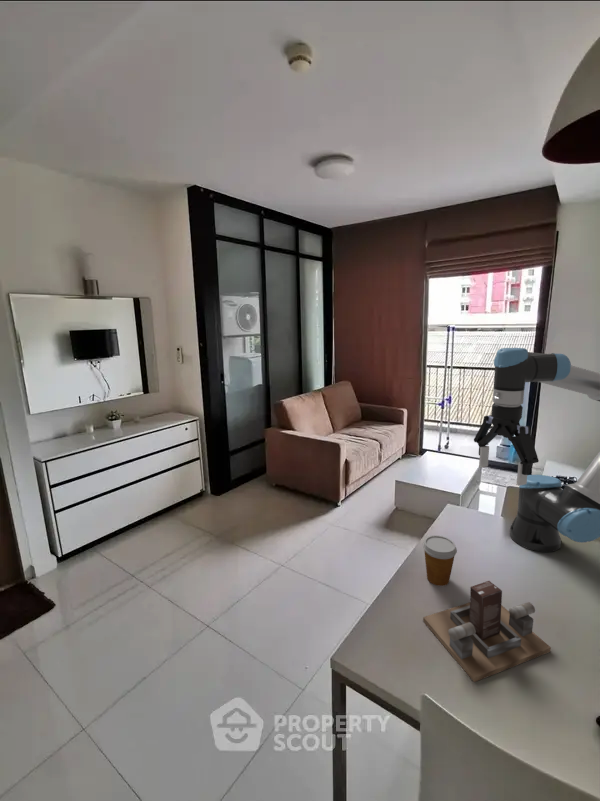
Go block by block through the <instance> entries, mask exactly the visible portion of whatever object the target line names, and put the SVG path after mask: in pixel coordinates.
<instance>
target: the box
mask: <svg viewBox="0 0 600 801" xmlns="http://www.w3.org/2000/svg"><path fill="white" fill-rule="evenodd" d="M469 588H470V592H469V593H470V594H469V597H470V598H469V602H470V618H469V622H471V623H472V624H473V625H474V627H475V630H476V633H475V634H476V635H477V636H478V637H479V638H480V639H481V640H484V639H486V638H489V637H491V636H494V635H497V634H499V633H500V621H501V605H502V603H503V602H502V601H503V600H502V599H503V590H502V589H501V588H499V587H498V586H497V585H496V584H494V583H493V582H492V581H490V580H487V581H484V582H481V583H478V584H476V585H472V586H470V587H469Z"/></svg>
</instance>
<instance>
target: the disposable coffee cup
mask: <svg viewBox="0 0 600 801" xmlns="http://www.w3.org/2000/svg"><path fill="white" fill-rule="evenodd" d="M422 548H423V552H424V560H425V568H426V571H425V572H426V579H427V580H428V582H429V583H430V584H432V585H434V586H437V587H438V586H439V587H445V586H447V585H449V583H450V578H451V576H452V575H451V574H452V570H453V564H454V561H455V560H454V559H455V556H456V554H457V553H458V552H457V551H458V549H457V547H456V544H455V542H454V541H453V540H452V539H451V538H448V537H446V536H443V535H430V536H427V537H425V539H424V540H423V543H422Z"/></svg>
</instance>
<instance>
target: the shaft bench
mask: <svg viewBox="0 0 600 801" xmlns="http://www.w3.org/2000/svg"><path fill="white" fill-rule="evenodd" d="M535 612H536V608H535V606H534V604H533V603H531V602H529V601H528V602H525V603H522V604H519V605H516V606H513V607H510V608H509V609H507V608H506V607H505V606H503V605H502V604H501V621H500V633H499V634H497V635H494V636H491V637H489V638H486V639H484V640H481V639H480V638H479V637H478V636H477V635H476V634H475V633H476V630H475V627H474V625H473V624H472V623H471V622H469V618H470V601H469V602H466V603H464V604H463V603H462V604H460V605H458V606H454V607H451V608H448V609H444V610H442V611H441V610H440V611H439V612H435V613H432V614H429V615H426V616H423V617H422V621H423V623H424V624H425V626H427V627H428V629H429V630H430V631H431V632H432V634H434V636H435V637H436V638H437V639H438V641H439V642H440V643H441V644H442V645H443V647H445V649H446V650H447V651H448V653H449V654H450V655H451V656H452V657H453V659H454V660H455V661H456V662H457V663H458V665H459V666H461V668H462V669H463V671H464V673H466V675H468V676H469V678H470V679H471V680H472V681H473V682H474V683H476V682H478V681H481V680H483V679H485V678H489V677H492V676H493V675H496V674H498V673H501V672H503V671H506V670H509V669H511V668H513V667H514V668H515V667H516V666H518V665H520V664H523V663H526V662H528V661H531V660H533V659H537V658H538V657H541V656H543V655H546V654H548V653H550V652H552V650H551V649H552V647H551V646H550V645H549V644H548V643H546V641H544V640H543V639H542V638H541V637H539V635H537V634H536V633H535V632H534V631H533V628H534V618H533V617H532V616H530V615H531V614H534V613H535Z"/></svg>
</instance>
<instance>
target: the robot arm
mask: <svg viewBox="0 0 600 801" xmlns="http://www.w3.org/2000/svg"><path fill="white" fill-rule="evenodd" d="M493 366H494V376H493V377H494V378H493V388H492V389H493V392H492V402H493V404H492V405H491V414H490V415H484V416H483V420H482V423H481V425H480V427H479V429H478V431H477V433H476V434H475V437H474V438H473V442H474V443H477V445H478V456H479V459H478V460H479V461H478V468H481V469H482V468H488V467H489V456H490V446H489V443H490V442H492V441H493V439H494V438H495V437H497V436H502V437H503V438H506V439H508V441H509V442H510V443H511V445H512V447H513V448H514V450H515V451H516V454H517V456H518V458H519V460H520V461H519V462H518V464H517V475H516V485H517V486H519V487H518V501H517V511H516V512H517V514H516V516H515V518H514V520H513V522H512V523H511V525H510V526H509V527H510V528H509V537H510V538H511V539H512V541H513V542H515V543H516V544H518V545H519V546H521V547H522V548H526V549H528V550H531V551H536V552H540V553H551V552H552V553H553V552H556V551H558V550H559V549H560V548H561V543H562V539H561V536H560V534H561V535H563V536H565V537H567V538H569V539H570V540H572V541H574V542H577V543H582V544H583V543H587V542H593V541H595V540H597V539H599V538H600V451H599V452H598V453H597V454H596V456H595V457H594V458H593V459H592V461H591V462H590V464H588V466H587V467H586V469H585V470H584V472H582V474H581V475H580V476H579V478H578V479H577V480H576V482H575V483H569V484H566V485H565V486H564V488H563V489H562V486H563V484H562V481H561V479H559V478H557V477H553V476H550V475H543V474H530V473H531V464H536V463H537V464H538V463H539V457H538V454H537V451H536V447H535V445H534V442H533V439H532V435H531V427H530V425H521V423H520V421H521V420H522V418H523V408H524V407H523V406H522V405H523V404H524V398H525V397H524V396H525V386H526V383H533V382H534V383H535V382H536V383H541V384H546V385H549V386H553V387H557V388H560V389H564V390H568V391H572V392H575V393H579V394H582V395H585V396H587V397H588V398H589V399H591V400H593V401H597V402H600V371H594V370H589V369H587V368H583V367H580V366H575V365H572V364H571V361H570V359H569V357H568V356H567V355H566V354H564V353H554V352H552V353H541V352H531V351H528V349H527V348H525V347H524V348H523V347H504V348H503V347H502V348H500V349H498V350H497V351H496V355H495V357H494V359H493Z"/></svg>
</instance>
